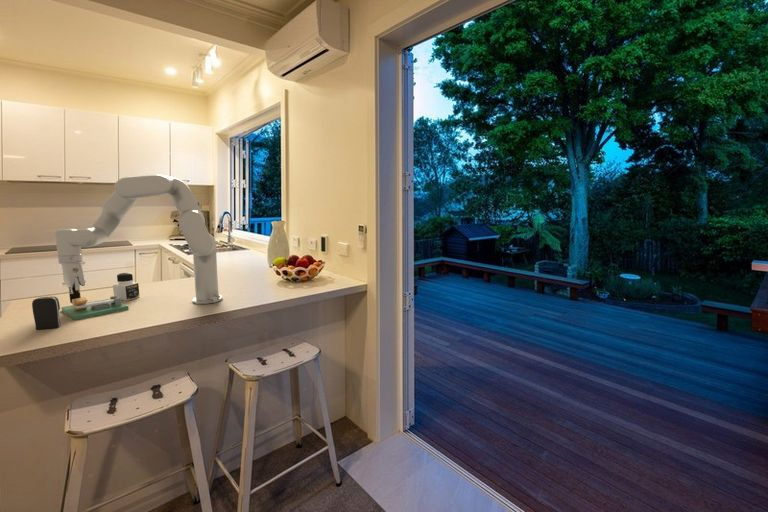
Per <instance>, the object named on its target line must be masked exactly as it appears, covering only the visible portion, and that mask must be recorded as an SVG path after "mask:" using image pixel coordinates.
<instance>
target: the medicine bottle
mask: <svg viewBox="0 0 768 512" xmlns="http://www.w3.org/2000/svg"><path fill="white" fill-rule="evenodd" d="M116 279H117V283H115V284H113V285H112V290H113V296H117V298H121V301H125V302H126V301H132V300H134V299H137V298H140V287H139V282H135V281H134V275H133V273H132V272H122V273H118V274H117V275H116Z"/></svg>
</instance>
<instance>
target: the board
mask: <svg viewBox="0 0 768 512" xmlns="http://www.w3.org/2000/svg"><path fill="white" fill-rule="evenodd" d="M113 298H116V299H114V301H115V302H113V303H107V304H101V305H95V306H89V307H87V308H86V309H80V310H73V304H72V305H65V306H60V310H61V312H63V313H64V314H66V315H67V316H68V317H70V319H72V320H74V321H78V320H81V319H88V318H92V317H98V316H103V315H107V314H114V313H119V312H123V311H127V310H128V311H129V305H127V304H125V303H124V302H123V303H122V300H121V298H117V296H114V295H113V296H110V298H106V299H105V300H110V299H113ZM103 300H104V299H100V300H99V301H103ZM97 301H98V300H95V301H93V302H97ZM91 302H92V301H88V302H87V303H91Z"/></svg>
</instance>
